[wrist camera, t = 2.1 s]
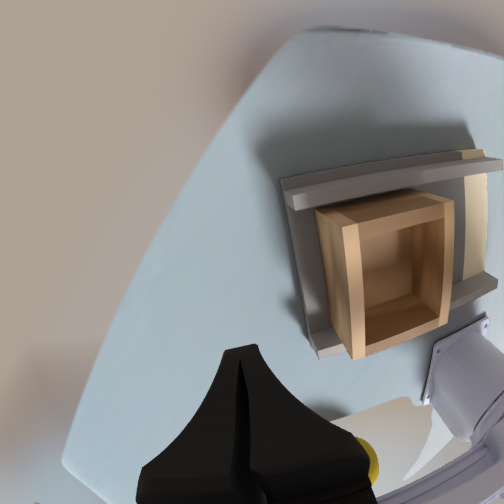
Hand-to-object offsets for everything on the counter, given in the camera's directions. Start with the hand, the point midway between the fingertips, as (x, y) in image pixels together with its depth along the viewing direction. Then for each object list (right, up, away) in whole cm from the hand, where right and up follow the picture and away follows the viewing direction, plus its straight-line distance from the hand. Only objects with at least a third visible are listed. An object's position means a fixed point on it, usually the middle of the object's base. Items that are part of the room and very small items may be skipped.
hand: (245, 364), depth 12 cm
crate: (+8, +4, +7) cm, 12 cm away
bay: (+11, +5, +8) cm, 15 cm away
